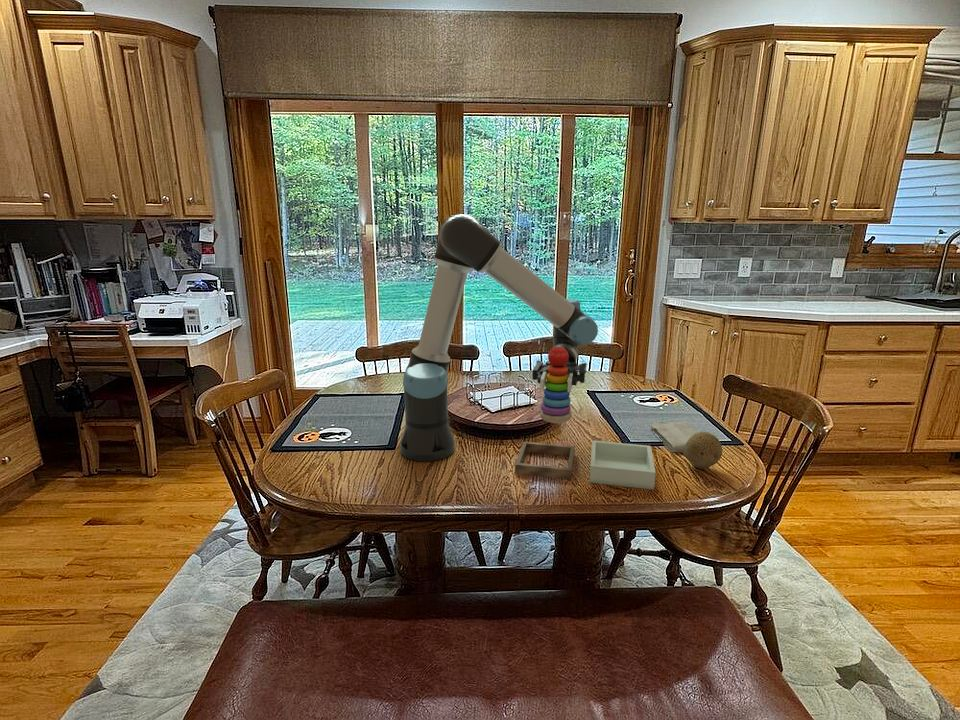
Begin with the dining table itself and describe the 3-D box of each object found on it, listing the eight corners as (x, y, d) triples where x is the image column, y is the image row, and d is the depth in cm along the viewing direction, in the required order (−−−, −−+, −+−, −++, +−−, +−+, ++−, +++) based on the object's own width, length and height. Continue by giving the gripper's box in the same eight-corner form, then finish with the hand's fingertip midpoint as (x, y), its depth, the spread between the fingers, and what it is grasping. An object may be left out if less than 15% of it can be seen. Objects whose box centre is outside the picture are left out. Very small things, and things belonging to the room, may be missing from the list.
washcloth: (684, 427, 158) (685, 418, 157) (714, 453, 141) (715, 443, 140) (646, 429, 157) (647, 419, 156) (672, 455, 140) (673, 444, 139)
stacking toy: (571, 425, 126) (573, 351, 121) (538, 423, 128) (539, 350, 123) (572, 413, 134) (574, 344, 129) (541, 411, 135) (542, 343, 130)
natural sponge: (720, 480, 126) (726, 443, 123) (682, 474, 129) (686, 437, 126) (718, 464, 134) (722, 428, 131) (681, 458, 137) (685, 424, 134)
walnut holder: (514, 473, 129) (515, 464, 129) (523, 449, 142) (523, 441, 142) (570, 479, 126) (571, 470, 126) (574, 454, 139) (574, 446, 139)
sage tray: (589, 482, 125) (590, 465, 124) (591, 455, 139) (592, 440, 138) (653, 489, 121) (655, 472, 120) (649, 461, 135) (650, 445, 134)
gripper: (596, 374, 144) (594, 403, 122) (529, 370, 148) (516, 397, 126) (597, 349, 142) (596, 373, 120) (530, 345, 146) (516, 368, 124)
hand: (555, 385), depth 123 cm, fingers closed on stacking toy, 6 cm apart
